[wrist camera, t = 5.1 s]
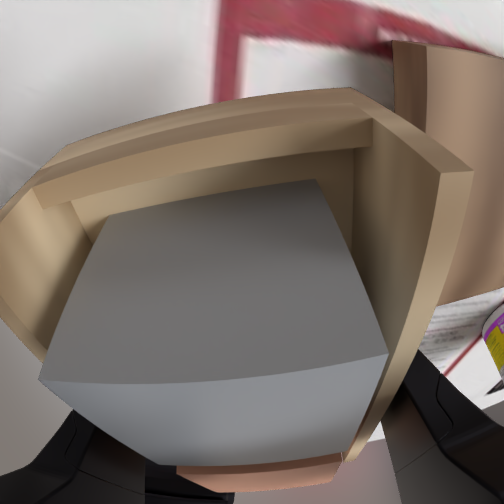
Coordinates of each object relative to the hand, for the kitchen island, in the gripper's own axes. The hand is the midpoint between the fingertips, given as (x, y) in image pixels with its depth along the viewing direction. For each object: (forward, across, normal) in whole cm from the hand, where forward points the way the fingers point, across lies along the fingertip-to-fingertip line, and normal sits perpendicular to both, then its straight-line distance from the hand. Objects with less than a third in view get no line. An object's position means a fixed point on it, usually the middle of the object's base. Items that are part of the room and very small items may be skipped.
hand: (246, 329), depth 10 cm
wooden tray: (+1, 0, 0) cm, 1 cm away
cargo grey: (0, 0, -3) cm, 3 cm away
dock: (+8, -13, 0) cm, 15 cm away
